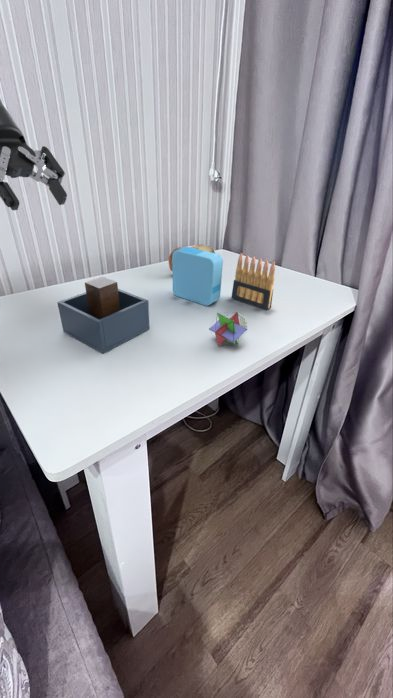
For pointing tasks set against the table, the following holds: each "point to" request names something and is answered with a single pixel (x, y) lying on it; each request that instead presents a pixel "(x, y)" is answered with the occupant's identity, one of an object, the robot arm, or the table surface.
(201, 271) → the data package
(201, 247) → the tin
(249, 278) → the ammunition clip
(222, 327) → the geometric puzzle
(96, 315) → the block
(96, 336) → the bin
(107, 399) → the table surface
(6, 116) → the robot arm
